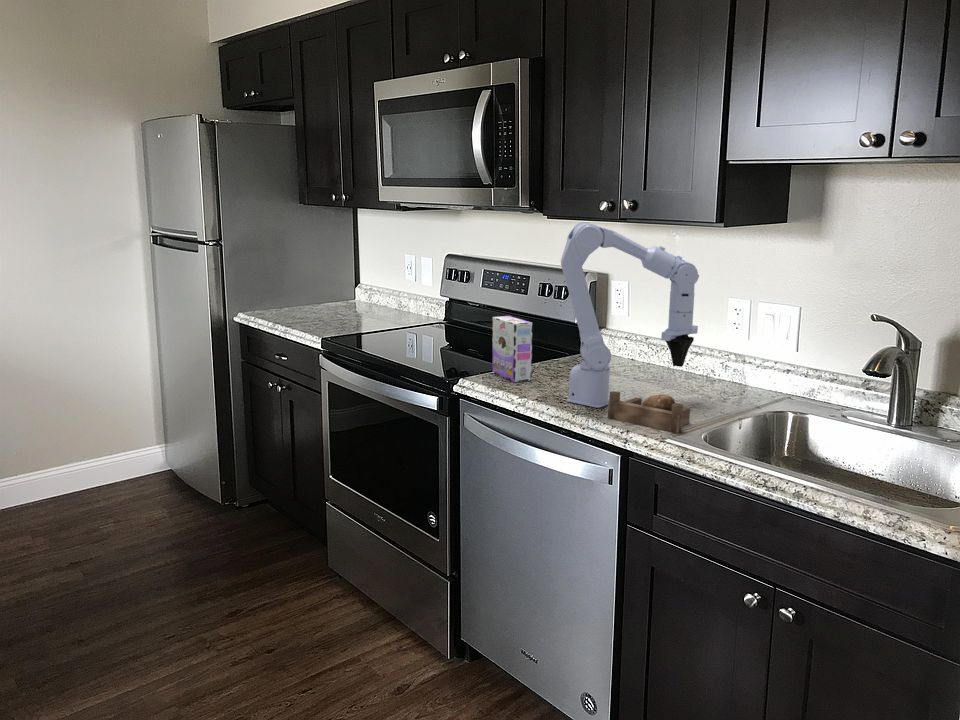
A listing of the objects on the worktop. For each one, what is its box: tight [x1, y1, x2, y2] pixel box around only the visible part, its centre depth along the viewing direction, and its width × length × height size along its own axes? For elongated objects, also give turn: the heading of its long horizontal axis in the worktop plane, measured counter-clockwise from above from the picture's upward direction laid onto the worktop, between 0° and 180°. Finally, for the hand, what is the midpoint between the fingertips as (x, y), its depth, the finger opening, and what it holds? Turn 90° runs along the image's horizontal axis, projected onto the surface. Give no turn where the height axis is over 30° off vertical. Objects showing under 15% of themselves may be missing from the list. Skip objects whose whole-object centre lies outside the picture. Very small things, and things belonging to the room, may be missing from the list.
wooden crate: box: [607, 390, 691, 434], centre depth 190 cm, size 18×9×6 cm, turn 48°
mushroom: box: [642, 393, 676, 411], centre depth 192 cm, size 8×8×6 cm
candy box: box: [491, 315, 534, 383], centre depth 232 cm, size 14×6×16 cm, turn 25°
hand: (678, 365), depth 205 cm, fingers closed
